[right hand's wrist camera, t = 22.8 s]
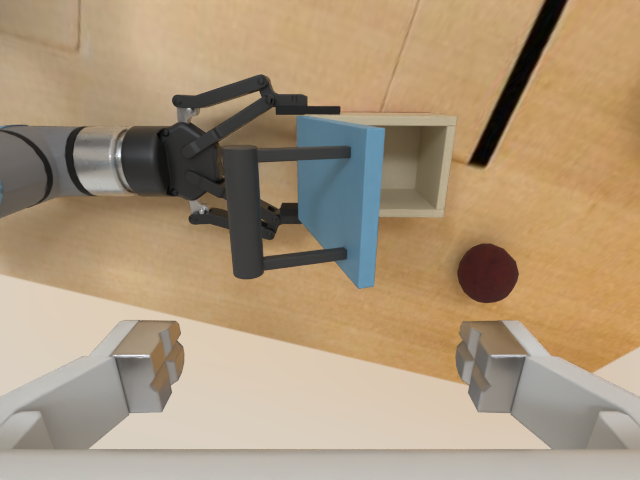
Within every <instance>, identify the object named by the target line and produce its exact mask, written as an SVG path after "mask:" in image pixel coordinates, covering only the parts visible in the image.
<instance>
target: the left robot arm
mask: <svg viewBox="0 0 640 480" xmlns="http://www.w3.org/2000/svg"><path fill="white" fill-rule="evenodd" d="M257 91H260V94H261V96H262V98H260V99H259V100H257V101H256V102H254V103H253V104H251V105H250V106H248V107H246V108H245V109H243V110H242V111H240V112H239V113H237V114H236V115H234V116H233V117H231V118H229V119H228V120H226V121H225V122H223V123H222V124H220V125H219V126H217V127H215V128H214V129H212V130H210V131H208V132H207V133H205V132H204V131H202V130H201V129H199V128H198V127H197V126H195V125H194V124H192V123H191V122H190V120H191V118H192V117H193V116H197V115H198V114H199V113H200V108H206V107H210V106H213V105H216V104H219V103H223V102H226V101H229V100H232V99H235V98H238V97H241V96H244V95H247V94H250V93H254V92H257ZM172 102H173V104H174V106H176V107H177V114H178V123H176V124H174V125H172V126H134V127H132V128H129V127H127V126H84V127H60V126H28V125H6V126H0V218H2V217H5V216H7V215H10V214H12V213H15V212H17V211H20V210H22V209H25V208H29V207H32V206H34V205H37V204H40V203H42V202H45V201H48V200H50V199H53V198H56V197H63V196H132V197H133V196H136V195H139V196H178V197H182V198H184V199H186V200H189V204H190V209H191V215H190V216H189V222H190V223H191V224H213V225H216V226H220V227H224V228H227V229H229V219H228V211H226V210H223V209H219V208H211V207H210V205H209V204H207V203H204V202H202V201H201V200H200V197H201V196H203V195H204V194H205V193H206V192H209V193H211V194H213V195H215V196H217V197H219V198H224V199H226V200H227V198H226V187H225V178H223V175H224V168H223V165H222V162H221V157H222V147H220V145H219V143H218V142H219V141H221V140H222V139H224V138H225V137H227V136H228V135H230V134H231V133H233V132H234V131H236V130H238V129H239V128H241V127H242V126H244V125H246V124H247V123H249V122H250V121H252V120H253V119H255V118H257V117H258V116H260V115H261V114H263V113H264V112H266V111H268V110H269V109H271V108H272V107H276V115H304V114H329V115H340V106H307V96H305V95H302V94H277V93H275V92H274V90H273V88H272V85H271V82H270V79H269V78H268V77H267V76H264V75H257V76H254V77H251V78H248V79H245V80H242V81H239V82H236V83H233V84H230V85H227V86H224V87H220V88H217V89H214V90H211V91H208V92H205V93H202V94H199V95H196V96H193V95H175V96H174V97H173V98H172ZM260 208H261V219H263V220H265V221H262V220H261V226H262V238H264V239H268V240H272V239H273V238H274V237H275V234H276V231H277V228H278V226H279V225H281V224H302V223H301V221H300V220H299V219H298V203H282V205H281V208H280V209H277V208H275V207H274V206H272V205H270V204H268V203H266V202H264V201H263V200H261V199H260ZM266 221H267V222H266Z"/></svg>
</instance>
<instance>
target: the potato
mask: <svg viewBox="0 0 640 480" xmlns="http://www.w3.org/2000/svg"><path fill="white" fill-rule="evenodd" d="M518 275H519V273H518V268H517V265H516V261H515V260H514V259H513V258H512V257H511V256H510V255H509V254H508V253H507V252H506V251H505V250H504V249H503V248H500V247H498V246H495V245H492V244H480V245H477V246H475V247H473V248H471V249H470V250H469V251H468V252H467V253H466V254H465V256H464V257H463V258H462V260H461V261H460V264H459V268H458V279H459V283H460V285H461V287H462V289H463V291H464V292H465V293H466V294H467V295H468V296H469V297H471V298H472V299H474V300H476V301H478V302H483V303H491V302H497V301H500V300H502V299H504V298H506V297H507V296H508V295H509V293H510V292H511V291H512V289H513V288H514V286H515V284H516V282H517V279H518Z"/></svg>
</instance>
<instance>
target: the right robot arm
mask: <svg viewBox="0 0 640 480" xmlns="http://www.w3.org/2000/svg"><path fill="white" fill-rule="evenodd" d="M180 334H181V332H180V327H179V324H178V323H177V322H176V321H155V320H142V321H140V320H124V321H121V322H119V323H118V324H117V325H116V327H115V328H114V329H113V330H112V331H111V332H110V333H109V334H108V335H107V336H106V338H105V339H104V340H103V341H102V342H101V343H100V344H99V345H98V346H97V347H96V348H95V350H94V351H93V352H92V353H91V354H90V355H89V356H83V357H80V358H78V359H76V360H74V361H72V362H70V363H68V364H66V365H64V366H62V367H60V368H58V369H56V370H54V371H52V372H50V373H48V374H46V375H44V376H42V377H40V378H38V379H35V380H33V381H31V382H29V383H27V384H25V385H23V386H21V387H19V388H17V389H15V390H13V391H11V392H9V393H7V394H5V395H3V396H1V397H0V480H640V397H639V396H637V395H635V394H633V393H631V392H629V391H627V390H625V389H623V388H621V387H619V386H616V385H614V384H612V383H610V382H608V381H606V380H604V379H602V378H600V377H598V376H596V375H594V374H592V373H590V372H588V371H586V370H584V369H582V368H580V367H578V366H576V365H574V364H572V363H570V362H568V361H566V360H564V359H562V358H560V357H558V356H551V355H550V354H549V353H548V352H547V351H546V350H545V348H544V347H543V346H542V345H541V344H540V343H539V342H538V341H537V340H536V339H535V337H534V336H533V335H532V334H531V333H530V332H529V331H528V330H527V329H526V328H525V326H524V325H523V324H522V323H521V322H519V321H517V320H498V321H463V322H462V324H461V326H460V331H459V334H460V336H461V338H462V339H463V341H462V342H461V343H460V344H459V345H458V346H457V349H456V366H457V370H458V373H459V375H460V377H461V380H462V381H464V382H465V383H466V384H468V385H469V390H468V393H469V395H470V397H471V399H472V401H473V403H474V405H475V407H476V409H477V411H478V412H491V413H511V415H512V416H513V417H514V418H515V419H517V420H518V421H519V422H520V423H521V424H523V425H524V426H525V427H526V428H527V429H529V430H530V431H531V432H532V433H533V434H535V435H536V436H537V437H538V438H539V439H541V440H542V441H543V442H544V443H545V444H547V445H548V446H549V447H550V448H551V449H89V448H90V447H91V446H92V445H94V444H95V443H96V442H97V441H98V440H99V439H101V438H102V437H103V436H104V435H106V434H107V433H108V432H109V431H110V430H112V429H113V428H114V427H115V426H116V425H118V424H119V423H120V422H121V421H122V420H124V419H125V418H126V417H127V416H128V415H129V413H149V412H162V411H163V409H164V407H165V405H166V403H167V401H168V399H169V397H170V395H171V393H172V390H171V385H172V384H174V383H175V382H176V381H178V380H179V377H180V375H181V373H182V369H183V365H184V349H183V346H182V345H181V344H180V343H179V342H178V341H177V339H178V338H179V336H180Z"/></svg>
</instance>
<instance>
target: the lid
mask: <svg viewBox="0 0 640 480" xmlns="http://www.w3.org/2000/svg"><path fill="white" fill-rule="evenodd" d="M384 137H385V128H380V127H374V126H368V125H362V124H356V123H349V122H343V121H337V120H331V119H325V118H319V117H313V116H297V147H289V148H260V149H257V147H256V146H251V145H232V146H225V147H223V148H222V154H223V165H224V176H225V187H226V198H227V208H228V219H229V230H230V241H231V252H232V263H233V274H234V276H235V277H237V278H240V279H253V278H257V277H259V276H261V275H262V274H263V273H264V270H272V269H279V268H287V267H294V266H301V265H309V264H316V263H324V262H331V261H335V262H336V263H337V264H338V266H339V267H340V268H341V269H342V270H343V271H344V273H345V274H346V275H347V276H348V277H349V278H350V280H351V281H352V282H353V283H354V284H355V285H356V286H357V288H358V289H361V288H367V287H373V286H374V278H375V264H376V250H377V236H378V222H379V208H380V194H381V179H382V165H383V151H384ZM277 161H297V167H298V219H299V220H300V221H301V223H302V224H303V225H304V226H305V227H306V228H307V229H308V231H309V232H310V233H311V234H312V235H313V236H314V238H315V239H316V240H317V241H318V242H319V243H320V245H321V246H322V247H323V248H324V249H323V250H315V251H307V252H298V253H290V254H282V255H274V256H266V257H263V243H262V226H261V208H260V190H259V172H258V162H277Z"/></svg>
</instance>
